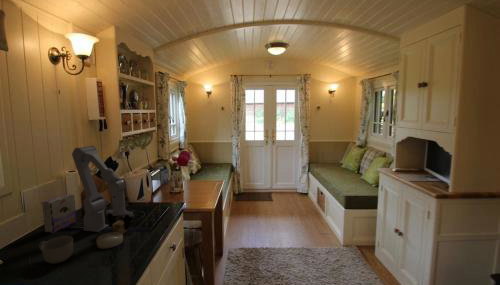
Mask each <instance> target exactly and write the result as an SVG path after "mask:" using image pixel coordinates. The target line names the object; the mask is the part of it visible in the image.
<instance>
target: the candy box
mask: <svg viewBox="0 0 500 285" xmlns="http://www.w3.org/2000/svg"><path fill="white" fill-rule="evenodd" d="M75 199H76V198H75V194H71V193H70V194H68V193H65V194H63V195H60V196H57V197H54V198H50V199H47V200H44V201H42V202H41V205H42V213H43V215H42V216H43V225H44V232H45V233H50V234H54V233H57V232H59V231H61V230H63V229H66V228H68V227H70V226H72V225H74V224H76V223H77V221H78V220H77V219H78V218H77V213H76V212H77V210H76V200H75ZM65 227H66V228H65Z"/></svg>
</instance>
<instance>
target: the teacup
mask: <svg viewBox="0 0 500 285" xmlns="http://www.w3.org/2000/svg"><path fill="white" fill-rule="evenodd" d="M74 246H75V245H74V238H73V237H72V236H69V235H61V236H57V237H53V238H51V239H49V240H47V241H45V240H42V241H41V242H39V244H38V248H39V250H40V251H41V252H42V257H43V260H44V262H46V263H48V264H52V265H56V264H61V263H64V262H65V261H67V260H68V259H69V258H70V257H71V256H72V255H73V253H74V251H75V250H74V249H75V248H74Z"/></svg>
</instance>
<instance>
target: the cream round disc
mask: <svg viewBox="0 0 500 285" xmlns="http://www.w3.org/2000/svg"><path fill="white" fill-rule="evenodd" d="M123 234H124V233H123ZM123 234H122V233H120V232H113V231H112V232H111V231H110V232H106V233H104V234H101V235H99V236H98V237H97V238H96V246H97V248H98V249H110V248H115V247H117V246H119V245H121V244H122V243H123V242H124V236H123Z"/></svg>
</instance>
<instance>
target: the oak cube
mask: <svg viewBox="0 0 500 285" xmlns="http://www.w3.org/2000/svg"><path fill="white" fill-rule="evenodd" d="M112 225H113V229H112V232H120V233H122V234H124V233H126V232H127V231H129V229H127V230H125V226H124V221H123V220H116V223H114V224H112Z"/></svg>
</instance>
